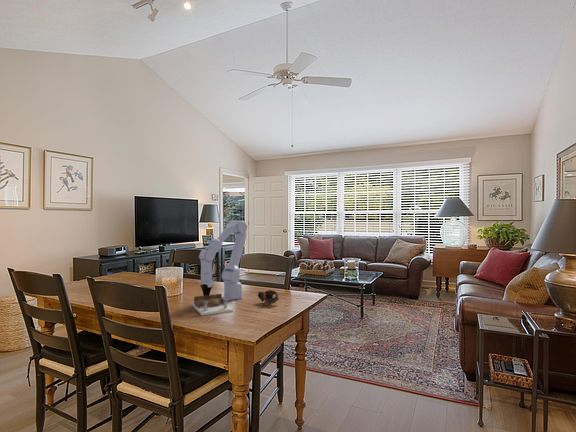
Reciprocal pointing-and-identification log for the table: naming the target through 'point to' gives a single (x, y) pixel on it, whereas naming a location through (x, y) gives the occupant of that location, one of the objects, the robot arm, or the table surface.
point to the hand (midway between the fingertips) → (206, 298)
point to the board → (213, 308)
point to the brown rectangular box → (208, 300)
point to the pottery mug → (268, 297)
